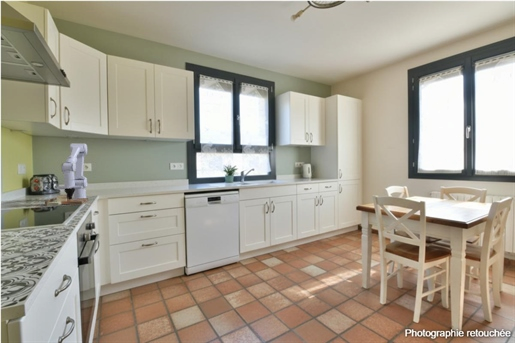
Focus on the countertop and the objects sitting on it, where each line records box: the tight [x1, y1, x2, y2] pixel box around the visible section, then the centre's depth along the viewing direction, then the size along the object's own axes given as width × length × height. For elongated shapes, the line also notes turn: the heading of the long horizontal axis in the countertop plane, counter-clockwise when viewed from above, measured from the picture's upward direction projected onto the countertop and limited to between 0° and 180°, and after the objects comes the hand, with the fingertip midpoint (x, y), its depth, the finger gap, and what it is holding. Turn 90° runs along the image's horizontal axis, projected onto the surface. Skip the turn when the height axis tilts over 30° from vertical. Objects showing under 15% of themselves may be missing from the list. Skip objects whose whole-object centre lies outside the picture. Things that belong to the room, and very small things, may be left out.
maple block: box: [56, 194, 70, 202], centre depth 164 cm, size 5×5×4 cm
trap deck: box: [44, 197, 89, 207], centre depth 165 cm, size 16×20×4 cm
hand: (70, 199), depth 165 cm, fingers closed
